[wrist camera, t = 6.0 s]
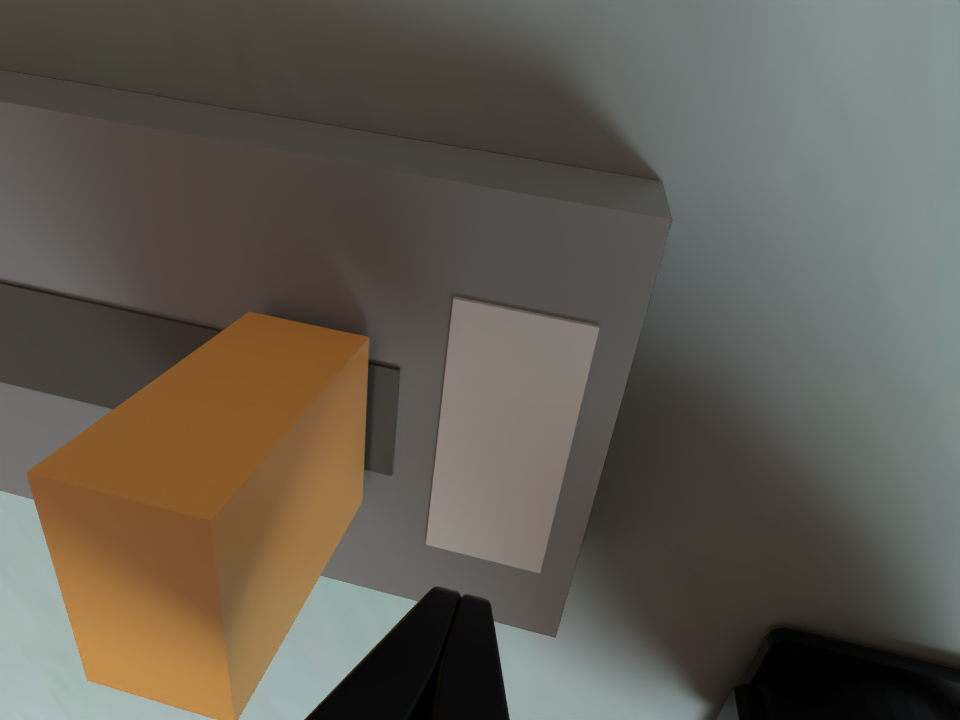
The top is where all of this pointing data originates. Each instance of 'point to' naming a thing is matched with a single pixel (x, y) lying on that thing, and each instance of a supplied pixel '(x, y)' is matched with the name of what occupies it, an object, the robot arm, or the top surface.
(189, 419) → the handle
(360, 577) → the panel
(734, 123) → the top surface
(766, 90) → the top surface
